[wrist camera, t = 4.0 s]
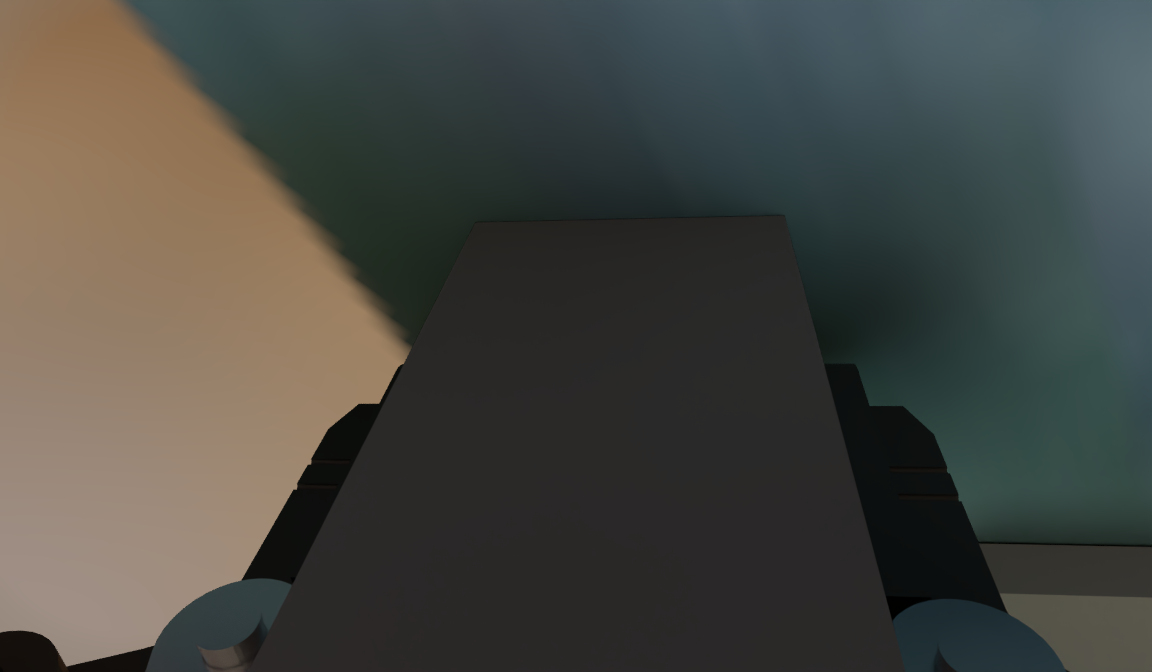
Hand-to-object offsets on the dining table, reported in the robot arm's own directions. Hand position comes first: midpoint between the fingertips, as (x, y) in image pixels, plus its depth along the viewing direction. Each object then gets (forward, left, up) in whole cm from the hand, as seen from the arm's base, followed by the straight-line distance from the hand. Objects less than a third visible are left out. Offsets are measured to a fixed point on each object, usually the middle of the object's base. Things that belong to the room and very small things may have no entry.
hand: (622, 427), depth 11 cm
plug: (0, 0, -2) cm, 2 cm away
